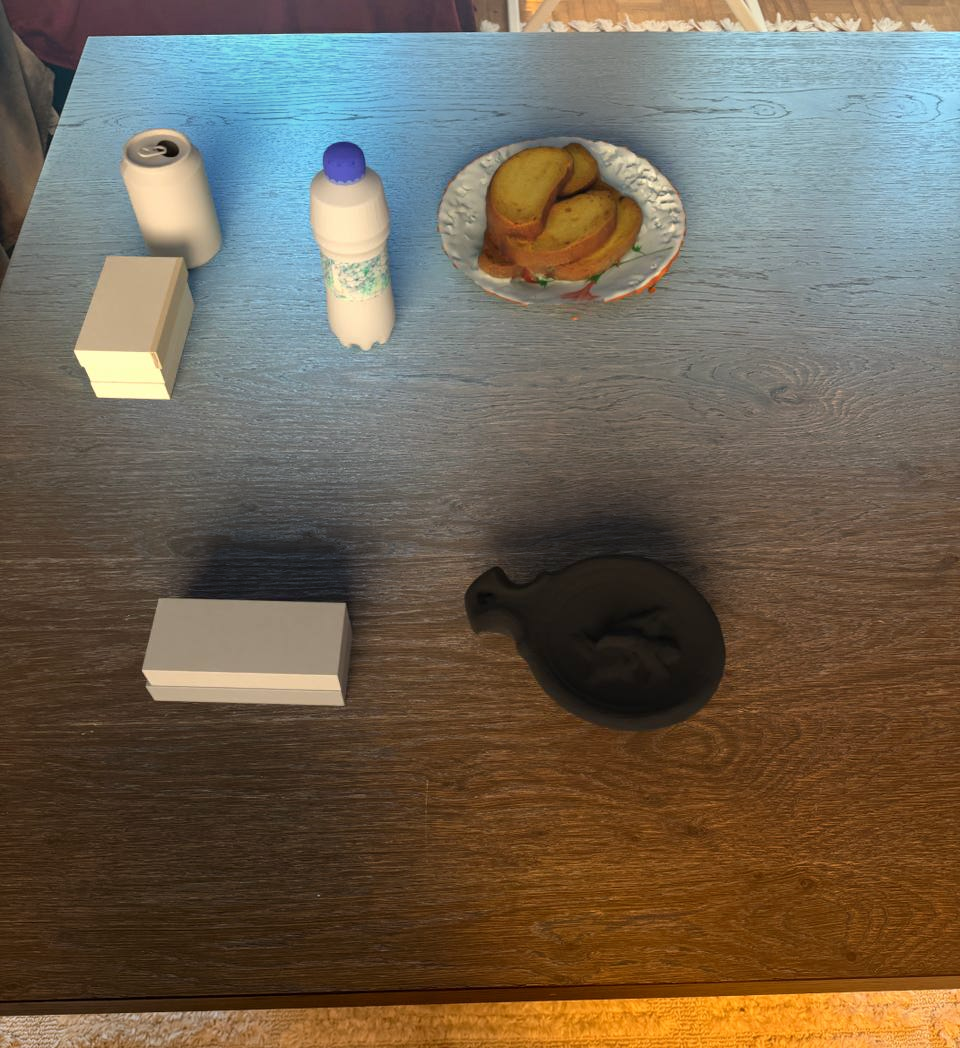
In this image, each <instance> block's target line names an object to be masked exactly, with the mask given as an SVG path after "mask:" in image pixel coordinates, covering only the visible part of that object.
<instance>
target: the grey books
mask: <svg viewBox="0 0 960 1048" xmlns="http://www.w3.org/2000/svg"><path fill="white" fill-rule="evenodd" d="M352 643H353V629H352V624H351V619H350V616H349V611H348V606H347V603H346V602H328V601H327V602H324V601H293V600H292V601H290V600H289V601H287V600H257V599H256V600H255V599H254V600H253V599H251V600H250V599H246V600H245V599H220V598H219V599H216V598H215V599H214V598H179V597H177V598H176V597H159V598H158V602H157V605H156V609H155V613H154V617H153V621H152V626H151V630H150V633H149V639H148V643H147V647H146V651H145V655H144V659H143V663H142V667H141V672H142V674H143V675H144V676H145V678H146V684H145V688H146V689H147V691H148V692H149V694H150V696H151V697H152V699H153V700H154V701H156V702H157V701H159V702H160V701H161V702H191V703H192V702H197V703H198V702H199V703H228V704H229V703H232V704H233V703H235V704H265V705H266V704H267V705H268V704H271V705H303V706H304V705H306V706H313V705H314V706H339V707H340V706H341V707H342V706H345V705H346V696H347V689H348V688H347V687H348V679H349V669H350V663H351V662H350V661H351V660H350V659H351V652H352Z"/></svg>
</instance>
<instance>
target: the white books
mask: <svg viewBox="0 0 960 1048" xmlns="http://www.w3.org/2000/svg"><path fill="white" fill-rule="evenodd" d="M195 307H196V305H195V302H194V299H193V296H192V292H191V289H190V286H189V283H188V280H187V281H186V285H185V289H184V292H183V296H182V299H181V303H180V307H179V310H178V314H177V317H176V321H175V325H174V328H173V332H172V335H171V339H170V343H169V346H168V350H167V353H166V357H165V360H164V364H163V368H162V369H156V368H116V367H83V368H84V370H85V372H86V373H87V376H88V379H89V380H90V385H91V388H92V389H93V391H94V394H95V395H96V397H97V398H98V399H99V398H100V399H101V398H102V399H103V398H104V399H105V398H106V399H136V400H137V399H139V400H140V399H141V400H171V398H172V394H173V390H174V385H175V383H176V378H177V375H178V370H179V367H180V364H181V359H182V355H183V352H184V348H185V345H186V340H187V338H188V333H189V329H190V326H191V322H192V320H193V319H192V318H193V315H194V311H195Z"/></svg>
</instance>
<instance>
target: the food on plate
mask: <svg viewBox="0 0 960 1048" xmlns="http://www.w3.org/2000/svg"><path fill="white" fill-rule="evenodd" d="M438 208H439V210H438V211H437V210H436V213H437V227H436V230H437V233H439V235H440V236H441V250H443V251H444V253H445V255H446V256H447V258H448V259H449V260H450V261H451V262H452V266H453V267H454V268H455V269H457V270H459V269H460V270H461V271H462V272H463V273H464V274H465V276H467V277H468V279H470V280H471V281H473V283H474V285H476V286H480V287H482V288H483V290H484V292H485V293H487V294H490V295H496V296H497V297H498V298H500V299H505V300H506V301H507V302H511V303H515V304H519V305H522V306H525V307H526V306H528V305H548V304H549V305H554V306H561V305H563V304H565V305H566V304H583V303H589V302H594V301H601V300H603V302H604V304H606V303H610V302H613V301H614V302H617V301H619V300H621V299H623V298H626V297H629V296H634V294H635V293H637V295H639V294H641V293H642V292H643V291H645V290H646V289H647V288H648V289H647V293H649V294H653V293H656V292H657V290H656V288H655V285H656V284H657V283H658V282H659V281H660V280H661V279H662V277H663V276H664V275H666V273H668V272H669V270H670V269H671V266H672V264H673V263H674V262H675V260H676V259H677V258H678V257H679V254H680V251H681V248H682V247H683V245H684V238H685V237H686V236H687V235H686V233H687V217H686V214H687V213H686V209H685V207H684V206H683V205H682V198H681V196H680V192H679V191H678V189H677V188H676V187H675V186H674V185H673V183H672V182H671V181H670V179H669V178H668V176H666V175H665V174H663V172H662V171H661V170H660V169H659V168H658V167H657V166H655V165H653V163H651V162H650V161H649V160H648V159H647V158H646V157H643V156H638V155H637V154H636V153H634V152H633V151H631V149H629V148H628V147H627V146H616V145H614V144H611V143H609V142H605V141H602V140H599V141H596V142H594V141H593V140H592V139H585V138H583V137H578V136H557V137H554V136H548V137H544V138H535V139H532V138H530V139H523V140H521V141H518V142H515V143H510V144H507V145H502V146H500V147H497V148H496V149H493V150H491V151H489V152H487V153H485V154H484V153H483V154H481V155H480V156H479V157H477V158H475V159H473V161H471V162H470V163H468V164H466V165H465V166H463V167H462V168H461V170H459V171H457V172H456V175H455V177H453V178H452V179H451V180H449V181H448V182H447V186H446V187H445V188H444V191H443V194H442V198H441V201H440V202H439V204H438ZM649 287H650V288H649ZM535 298H538V299H539V300H540V301H531V300H535ZM578 319H579V318H578V317H574V318H572V321H577V320H578Z"/></svg>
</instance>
